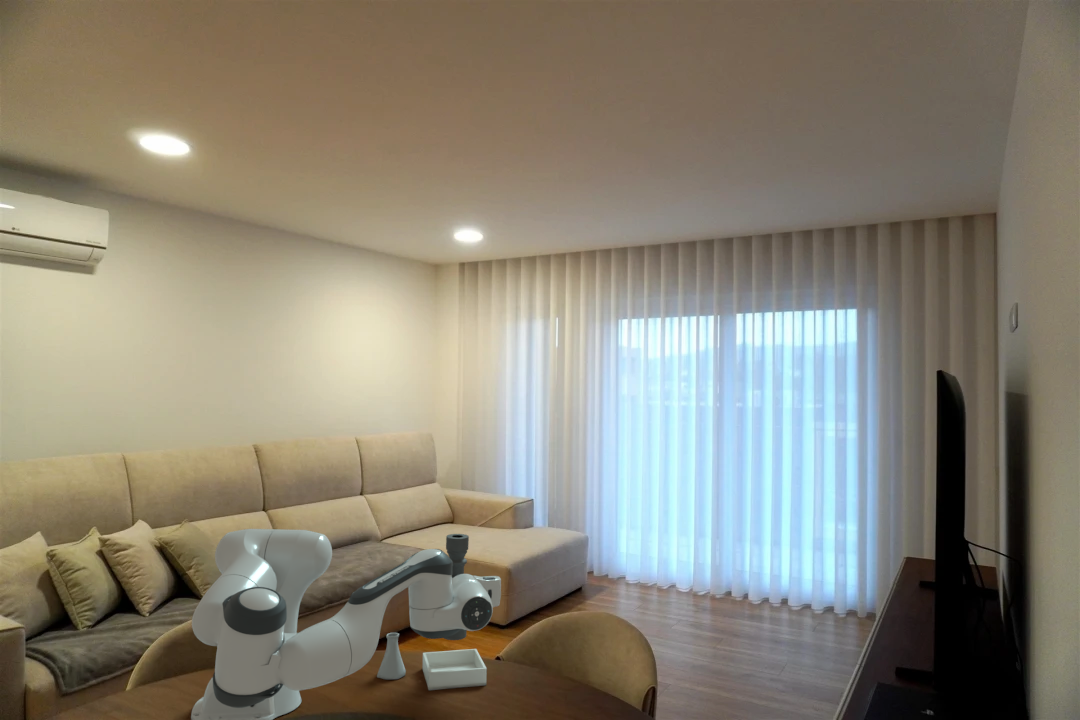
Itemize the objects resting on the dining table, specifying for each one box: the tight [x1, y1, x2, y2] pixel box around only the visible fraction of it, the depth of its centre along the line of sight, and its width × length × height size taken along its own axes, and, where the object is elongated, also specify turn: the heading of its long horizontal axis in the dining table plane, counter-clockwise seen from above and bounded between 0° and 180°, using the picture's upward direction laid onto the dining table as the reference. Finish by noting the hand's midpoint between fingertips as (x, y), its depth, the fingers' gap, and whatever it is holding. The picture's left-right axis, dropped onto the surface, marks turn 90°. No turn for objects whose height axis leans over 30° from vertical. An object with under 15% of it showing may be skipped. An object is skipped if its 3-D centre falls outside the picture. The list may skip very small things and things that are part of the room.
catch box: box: [421, 648, 488, 691], centre depth 176 cm, size 14×14×4 cm
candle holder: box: [443, 533, 470, 641], centre depth 177 cm, size 6×6×25 cm
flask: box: [376, 632, 407, 680], centre depth 176 cm, size 7×7×10 cm
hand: (455, 579), depth 178 cm, fingers closed on candle holder, 4 cm apart
